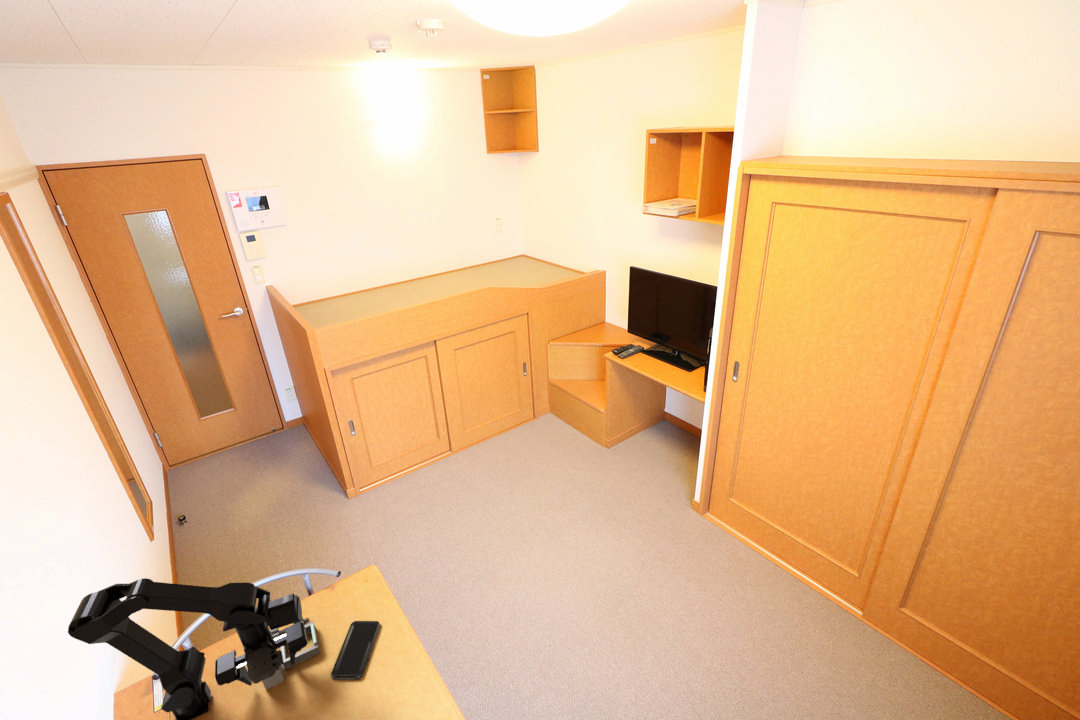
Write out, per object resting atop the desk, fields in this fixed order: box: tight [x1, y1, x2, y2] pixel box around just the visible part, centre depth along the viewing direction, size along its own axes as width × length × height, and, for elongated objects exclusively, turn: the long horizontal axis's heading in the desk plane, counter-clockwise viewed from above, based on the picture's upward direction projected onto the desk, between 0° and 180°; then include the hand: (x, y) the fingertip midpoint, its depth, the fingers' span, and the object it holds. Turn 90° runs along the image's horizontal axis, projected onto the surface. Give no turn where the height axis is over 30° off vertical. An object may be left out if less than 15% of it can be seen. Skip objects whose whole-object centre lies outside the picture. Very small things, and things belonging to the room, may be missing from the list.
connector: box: [261, 664, 285, 690], centre depth 120 cm, size 4×4×7 cm
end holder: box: [280, 621, 321, 671], centre depth 127 cm, size 8×8×3 cm
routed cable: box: [270, 616, 310, 639], centre depth 131 cm, size 11×2×2 cm, turn 120°
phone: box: [330, 620, 381, 681], centre depth 127 cm, size 8×1×15 cm
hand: (272, 673), depth 120 cm, fingers open, 9 cm apart
